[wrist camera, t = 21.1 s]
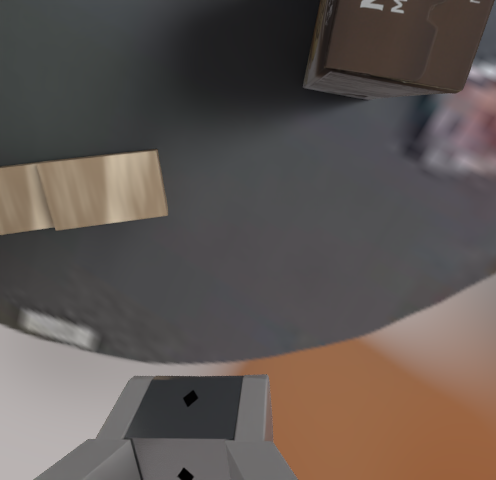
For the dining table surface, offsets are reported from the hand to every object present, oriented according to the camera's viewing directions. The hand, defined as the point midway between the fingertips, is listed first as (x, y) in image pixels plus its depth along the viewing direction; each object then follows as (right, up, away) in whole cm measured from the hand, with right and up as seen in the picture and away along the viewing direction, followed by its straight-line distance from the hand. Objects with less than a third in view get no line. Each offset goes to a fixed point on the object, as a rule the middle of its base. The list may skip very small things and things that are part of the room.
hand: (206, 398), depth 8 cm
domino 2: (-7, +9, +25) cm, 28 cm away
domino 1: (-15, +8, +26) cm, 31 cm away
